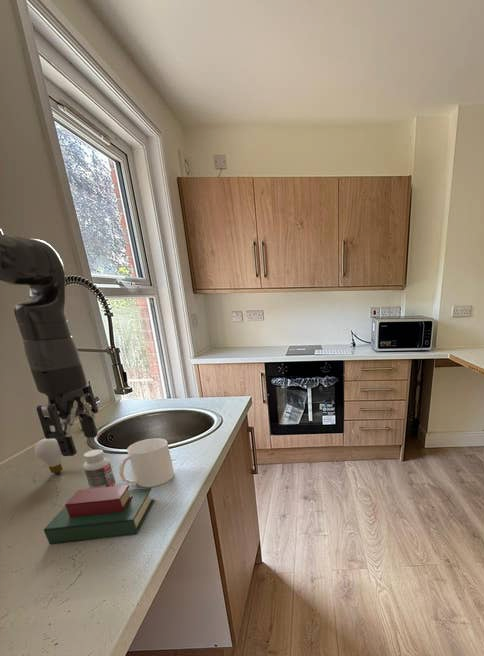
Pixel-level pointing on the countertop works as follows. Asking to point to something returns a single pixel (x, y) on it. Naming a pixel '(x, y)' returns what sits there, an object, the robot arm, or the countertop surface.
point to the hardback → (101, 521)
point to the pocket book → (98, 501)
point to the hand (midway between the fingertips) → (81, 445)
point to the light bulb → (49, 454)
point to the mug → (149, 463)
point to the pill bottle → (98, 470)
